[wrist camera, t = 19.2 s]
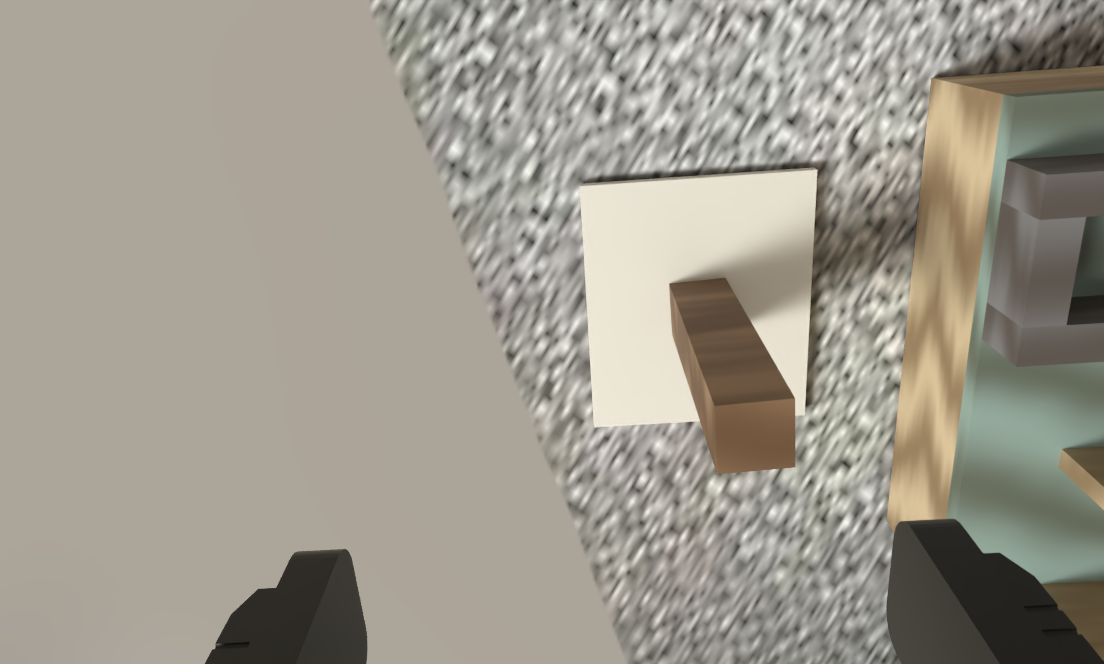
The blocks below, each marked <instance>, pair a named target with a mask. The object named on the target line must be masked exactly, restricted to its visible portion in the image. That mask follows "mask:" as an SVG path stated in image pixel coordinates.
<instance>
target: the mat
mask: <svg viewBox="0 0 1104 664" xmlns="http://www.w3.org/2000/svg"><path fill="white" fill-rule="evenodd" d="M816 188H817V169H816V168H799V169H785V170H771V171H756V172H742V173H728V174H713V175H699V176H684V177H670V178H656V179H641V180H627V181H612V182H598V183H584V184H580V201H581V217H582V234H583V251H584V267H585V284H586V301H587V317H588V334H589V351H590V367H591V384H592V401H593V418H594V427H607V426H624V425H642V424H659V423H676V422H693V421H700V419H699V416H698V413H697V410H696V407H695V404H694V401H693V398H692V395H691V392H690V388H689V385H688V382H687V379H686V376H685V373H684V370H683V367H682V364H681V361H680V358H679V355H678V351H677V348H676V345H675V342H674V339H673V336H672V324H671V308H670V291H669V284H670V283H680V282H689V281H699V280H709V279H719V278H726V279H727V281H728V283H729V285H730V286H731V288H732V290H733V292H734V293H735V295H736V297H737V299H738V300H739V302H740V304H741V305H742V307H743V309H744V311H745V312H746V314H747V316H748V318H749V319H750V321H751V323H752V324H753V326H754V328H755V330H756V331H757V333H758V335H759V337H760V338H761V340H762V342H763V344H764V345H765V347H766V349H767V350H768V352H769V354H770V356H771V357H772V359H773V361H774V363H775V364H776V366H777V368H778V369H779V371H780V373H781V375H782V376H783V378H784V380H785V382H786V383H787V385H788V387H789V388H790V390H791V392H792V394H793V395H794V397H795V416H796V415H805V399H806V380H807V361H808V342H809V322H810V303H811V284H812V265H813V245H814V226H815V207H816Z"/></svg>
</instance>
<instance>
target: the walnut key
mask: <svg viewBox="0 0 1104 664" xmlns="http://www.w3.org/2000/svg"><path fill="white" fill-rule="evenodd" d="M669 291H670V308H671V324H672V336H673V339H674V342H675V345H676V348H677V351H678V355H679V358H680V361H681V364H682V367H683V370H684V373H685V376H686V379H687V382H688V385H689V388H690V392H691V395H692V398H693V401H694V404H695V407H696V410H697V413H698V416H699V419H700V422H701V425H702V429H703V432H704V435H705V438H706V441H707V444H708V447H709V450H710V453H711V456H712V459H713V462H714V466H715V469H716V472H717V474H725V473H736V472H748V471H759V470H770V469H781V468H792V467H795V397H794V395H793V394H792V392H791V390H790V388H789V387H788V385H787V383H786V382H785V380H784V378H783V376H782V375H781V373H780V371H779V369H778V368H777V366H776V364H775V363H774V361H773V359H772V357H771V356H770V354H769V352H768V350H767V349H766V347H765V345H764V344H763V342H762V340H761V338H760V337H759V335H758V333H757V331H756V330H755V328H754V326H753V324H752V323H751V321H750V319H749V318H748V316H747V314H746V312H745V311H744V309H743V307H742V305H741V304H740V302H739V300H738V299H737V297H736V295H735V293H734V292H733V290H732V288H731V286H730V285H729V283H728V281H727V279H726V278H719V279H709V280H699V281H689V282H680V283H670V284H669Z"/></svg>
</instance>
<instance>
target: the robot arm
mask: <svg viewBox="0 0 1104 664" xmlns="http://www.w3.org/2000/svg"><path fill="white" fill-rule="evenodd" d="M887 622H888V628H889V633H890V637H891V641H892V644H893V646H894V649H895V651H896V653H897V655H898V657H899V659H900V661H901V663H902V664H1104V661H1103V660H1102V659H1101V657H1100V656H1099V655H1098V654H1097V652H1096V651H1095V650H1094V649H1093V647H1092V646H1091V645H1090V644H1089V643H1088V641H1087V640H1086V639H1085V638H1084V636H1083V635H1082V634H1078V633H1077V628H1076V627H1075V625H1074V624H1073V623H1072V622H1071V620H1070V619H1069V618H1068V617H1067V615H1066V614H1065V613H1064V612H1063V611H1062V610H1059V609H1058V604H1057V603H1056V602H1055V601H1054V599H1053V598H1052V597H1051V596H1050V595H1049V593H1048V592H1047V591H1046V590H1045V588H1044V587H1043V586H1042V585H1041V583H1040V582H1039V581H1038V580H1037V579H1036V577H1035V576H1034V575H1032V574H1031V573H1029V572H1028V571H1026V570H1025V569H1023V568H1022V567H1020V566H1019V565H1017V564H1016V563H1014V562H1013V561H1011V560H1010V559H1008V558H1007V557H1006V556H1004V555H1003V554H1001V553H983V552H982V551H981V550H980V548H979V547H978V546H977V544H976V543H975V542H974V540H973V539H972V538H971V536H970V535H969V534H968V532H967V531H966V530H965V528H964V527H963V526H962V525H961V523H960V522H959V521H957V520H956V519H933V520H914V521H901V522H899V523H898V524H897V526H896V528H895V532H894V540H893V550H892V559H891V568H890V578H889V587H888V597H887ZM366 661H367V632H366V626H365V621H364V617H363V612H362V606H361V602H360V597H359V592H358V587H357V582H356V577H355V572H354V567H353V562H352V558H351V556H350V554H349V552H348V550H346V549H339V550H320V551H301V552H296V553H294V554H293V555H292V557H291V559H290V560H289V563H288V565H287V567H286V569H285V571H284V573H283V575H282V577H281V579H280V581H279V584H278V585H277V587H276V588H267V589H258V590H257V591H256V592H255V593H254V594H252V595H251V596H250V597H249V598H248V599H247V600H246V601H245V602H244V603H243V604H242V605H241V606H240V607H239V608H238V609H237V610H236V611H234V612H233V613H232V614H231V616H230V617H229V619H228V622H227V623H226V625H225V627H224V629H223V631H222V632H221V634H220V636H219V638H218V640H217V642H216V648H215V649H213V650H212V651H211V653H210V655H209V657H208V659H207V661H206V663H205V664H366Z"/></svg>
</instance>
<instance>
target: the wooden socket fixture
mask: <svg viewBox="0 0 1104 664" xmlns="http://www.w3.org/2000/svg"><path fill="white" fill-rule="evenodd" d="M933 519H956V520H957V521H959V522H960V523H961V525H962V526H963V527H964V528H965V530H966V531H967V532H968V534H969V535H970V536H971V538H972V539H973V540H974V542H975V543H976V544H977V546H978V547H979V548H980V550H981V551H982V552H983V553H1001V554H1003V555H1004V556H1006V557H1007V558H1008V559H1010V560H1011V561H1013V562H1014V563H1016V564H1017V565H1019V566H1020V567H1022V568H1023V569H1025V570H1026V571H1028V572H1029V573H1031V574H1032V575H1034V576H1035V577H1036V579H1037V580H1038V581H1039V582H1040V583H1041V585H1042V586H1043V587H1044V588H1045V590H1046V591H1047V592H1048V593H1049V595H1050V596H1051V597H1052V598H1053V599H1054V601H1055V602H1056V603H1057V604H1058V609H1059V610H1062V611H1063V612H1064V613H1065V614H1066V615H1067V617H1068V618H1069V619H1070V620H1071V622H1072V623H1073V624H1074V625H1075V627H1076V628H1077V633H1078V634H1082V635H1083V636H1084V638H1085V639H1086V640H1087V641H1088V643H1089V644H1090V645H1091V646H1092V647H1093V649H1094V650H1095V651H1096V652H1097V654H1098V655H1099V656H1100V657H1101V659H1102V660H1103V661H1104V65H1103V66H1089V67H1075V68H1062V69H1048V70H1034V71H1021V72H1007V73H993V74H980V75H966V76H952V77H939V78H931V88H930V98H929V108H928V118H927V128H926V137H925V147H924V157H923V167H922V177H921V187H920V197H919V207H918V217H917V226H916V236H915V246H914V256H913V266H912V276H911V286H910V296H909V306H908V315H907V325H906V335H905V345H904V355H903V365H902V375H901V385H900V395H899V404H898V414H897V424H896V434H895V444H894V454H893V464H892V474H891V484H890V493H889V503H888V513H887V522H888V523H889V525H890V527H891V528H892V530H893V532H895V528H896V526H897V524H898V523H899V522H901V521H914V520H933Z"/></svg>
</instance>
